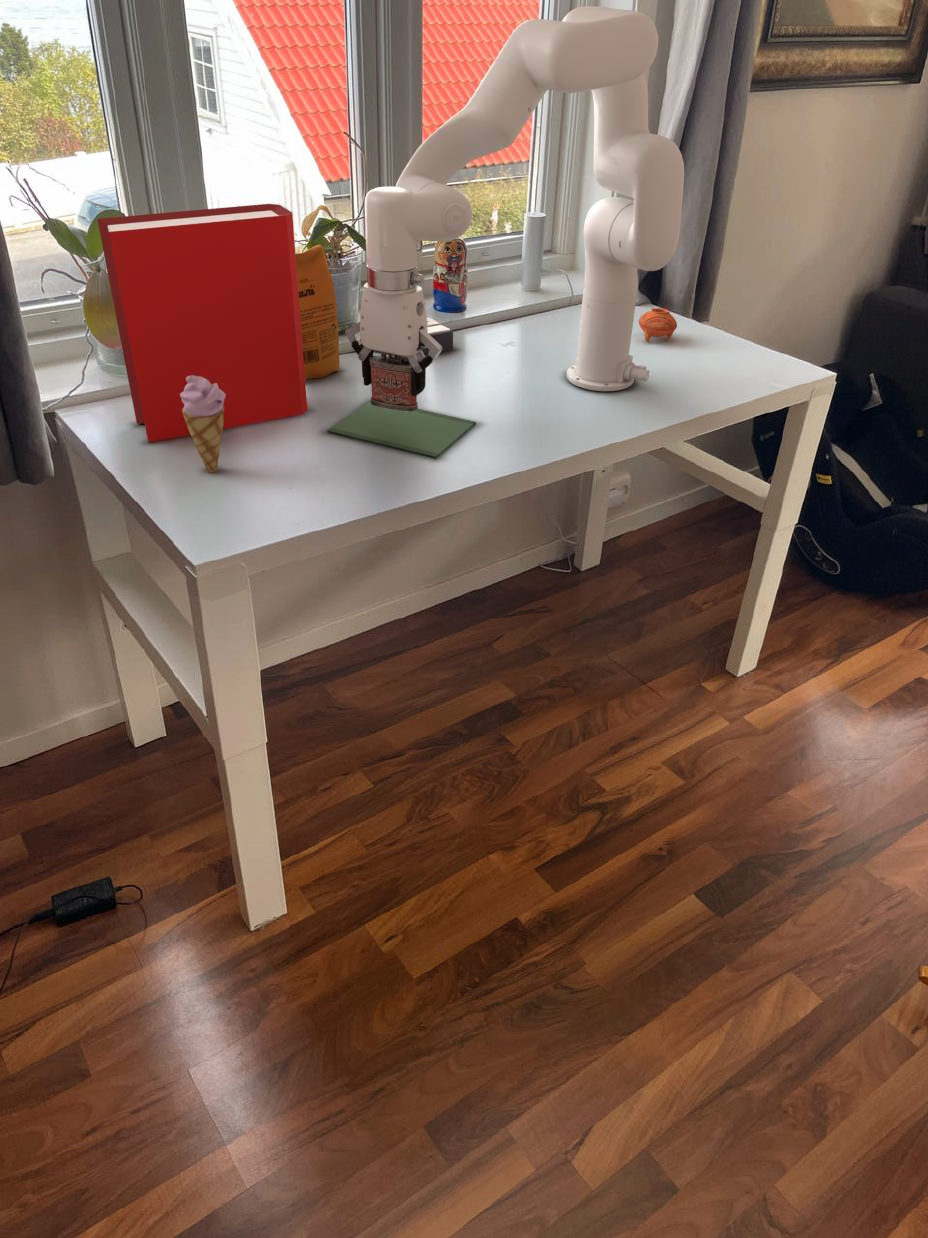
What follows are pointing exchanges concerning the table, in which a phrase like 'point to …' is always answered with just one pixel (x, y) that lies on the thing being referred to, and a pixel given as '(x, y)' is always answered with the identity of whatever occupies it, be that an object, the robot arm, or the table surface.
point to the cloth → (403, 429)
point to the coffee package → (317, 314)
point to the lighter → (392, 382)
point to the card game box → (439, 335)
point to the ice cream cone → (204, 418)
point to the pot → (657, 323)
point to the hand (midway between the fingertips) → (393, 387)
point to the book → (208, 312)
